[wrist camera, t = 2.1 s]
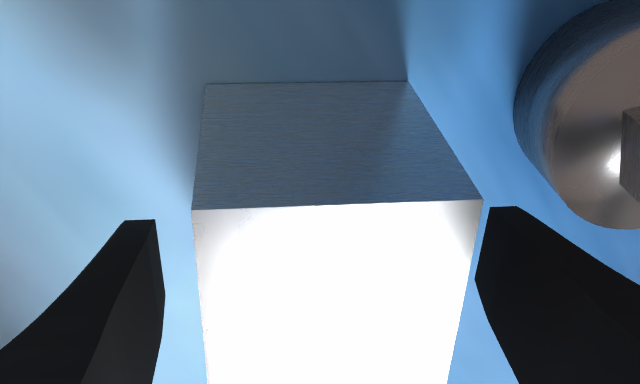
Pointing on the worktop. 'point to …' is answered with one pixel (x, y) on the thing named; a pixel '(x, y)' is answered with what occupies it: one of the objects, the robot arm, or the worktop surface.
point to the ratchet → (587, 114)
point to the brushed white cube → (329, 235)
